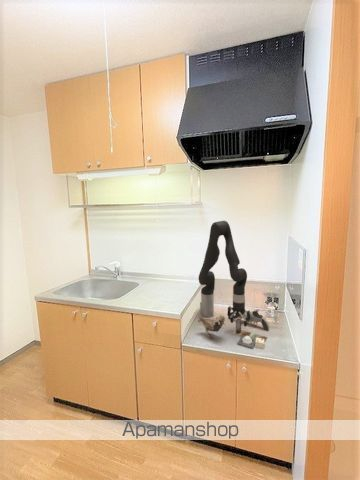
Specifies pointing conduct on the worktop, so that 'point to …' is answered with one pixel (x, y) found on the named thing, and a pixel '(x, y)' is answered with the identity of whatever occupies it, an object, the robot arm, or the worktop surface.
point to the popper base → (246, 344)
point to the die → (259, 343)
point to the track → (251, 335)
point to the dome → (247, 340)
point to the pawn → (238, 325)
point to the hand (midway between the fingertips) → (238, 324)
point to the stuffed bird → (212, 323)
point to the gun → (254, 319)
